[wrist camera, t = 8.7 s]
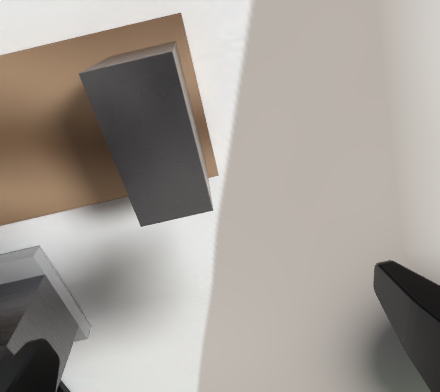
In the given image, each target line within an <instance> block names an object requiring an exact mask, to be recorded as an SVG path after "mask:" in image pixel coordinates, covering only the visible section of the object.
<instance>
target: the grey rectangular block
mask: <svg viewBox="0 0 440 392" xmlns="http://www.w3.org/2000/svg"><path fill="white" fill-rule="evenodd" d="M90 329H91V326H90V324H89V323H88V321H87V320H86V318H85V316H84V315H83V313H82V312H81V310H80V308H79V307H78V305H77V304H76V302H75V301H74V299H73V297H72V296H71V294H70V293H69V291H68V290H67V288H66V286H65V285H64V283H63V282H62V280H61V279H60V277H59V275H58V274H57V272H56V271H55V269H54V267H53V266H52V264H51V263H50V261H49V260H48V258H47V256H46V255H45V253H44V252H43V250H42V249H41V247H40V246H37V247H33V248H28V249H24V250H20V251H15V252H11V253H6V254H2V255H0V369H1V368H2V367H3V366H4V365H5V364H6V363H7V362H8V361H9V360H10V359H11V358H12V357H13V356H14V355H15V354H16V353H17V352H18V351H19V349H20V348H21V347H22V346H23V345H24V344H25V343H27V342H28V341H30V340H34V339H39V338H45V339H47V340H48V342H49V343H50V344H51V346H52V347H53V348H54V349H55V351H56V352H57V353H58V355H59V358H60V367H59V374H58V381H57V387H56V392H57V389H58V386H59V383H60V380H61V377H62V374H63V371H64V368H65V365H66V362H67V359H68V356H69V353H70V350H71V347H72V344H73V342H74V341H79V340H83V339H88V336H89V332H90Z"/></svg>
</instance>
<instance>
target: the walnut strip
mask: <svg viewBox="0 0 440 392" xmlns="http://www.w3.org/2000/svg"><path fill="white" fill-rule="evenodd" d="M214 176H218V171H217V167H216V162H215V158H214V154H213V149H212V145H211V141H210V136H209V132H208V128H207V123H206V119H205V115H204V110H203V106H202V102H201V97H200V93H199V89H198V85H197V80H196V76H195V72H194V67H193V63H192V59H191V54H190V50H189V46H188V41H187V37H186V33H185V28H184V24H183V20H182V15H181V13H178V14H173V15H169V16H165V17H161V18H157V19H152V20H148V21H144V22H140V23H135V24H131V25H127V26H123V27H119V28H114V29H110V30H106V31H102V32H98V33H93V34H89V35H85V36H81V37H76V38H72V39H68V40H64V41H60V42H55V43H51V44H47V45H43V46H39V47H34V48H30V49H26V50H22V51H17V52H13V53H9V54H5V55H1V56H0V226H1V225H5V224H9V223H14V222H18V221H22V220H27V219H31V218H35V217H40V216H44V215H48V214H53V213H57V212H62V211H66V210H70V209H75V208H79V207H83V206H88V205H92V204H96V203H101V202H105V201H110V200H114V199H118V198H123V197H127V196H129V199H130V201H131V204H132V206H133V208H134V211H135V213H136V216H137V218H138V221H139V223H140V226H141V227H142V226H147V225H151V224H156V223H160V222H164V221H169V220H173V219H177V218H182V217H186V216H191V215H195V214H199V213H204V212H208V211H213V206H212V200H211V193H210V187H209V180H208V178H210V177H214Z"/></svg>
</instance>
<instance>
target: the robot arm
mask: <svg viewBox="0 0 440 392" xmlns="http://www.w3.org/2000/svg"><path fill="white" fill-rule="evenodd" d="M374 290H375V293H376V295H377V297H378V299H379V301H380V303H381V305H382V307H383V309H384V311H385V313H386V315H387V317H388V319H389V321H390V323H391V325H392V327H393V329H394V331H395V332H396V335H397V337H398V339H399V341H400V342H401V344H402V346H403V348H404V350H405V351H406V353H407V355H408V356H409V358H410V359H411V361H412V362H413V364H414V366H415V367H416V369H417V370H418V372H419V373H420V375H421V377H422V378H423V380H424V381H425V383H426V384H427V386H428V388H429V389H430V391H431V392H440V285H437V284H436V283H434V282H432V281H430V280H428V279H426V278H425V277H423V276H421V275H419V274H417V273H415V272H413V271H411V270H410V269H408V268H405V267H404V266H402V265H400V264H398V263H396V262H394V261H391V260H389V261H384V262H379V263H377V264H376V265H375V269H374ZM59 367H60V358H59V355H58V353H57V352H56V351H55V349H54V348H53V347H52V346H51V344H50V343H49V342H48V340H47V339H45V338H39V339H34V340H30V341H28V342H27V343H25V344H24V345H23V346H22V347H21V348H20V349H19V351H18V352H17V353H16V354H15V355H14V356H13V357H12V358H11V359H10V360H9V361H8V362H7V363H6V364H5V365H4V366H3V367H2V368H1V369H0V392H56V387H57V381H58V374H59ZM57 392H70V391H69V390H68V389H67V387H66V386H65V385H64V384H63V383H62V381H61V380H60V383H59V386H58V389H57Z"/></svg>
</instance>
